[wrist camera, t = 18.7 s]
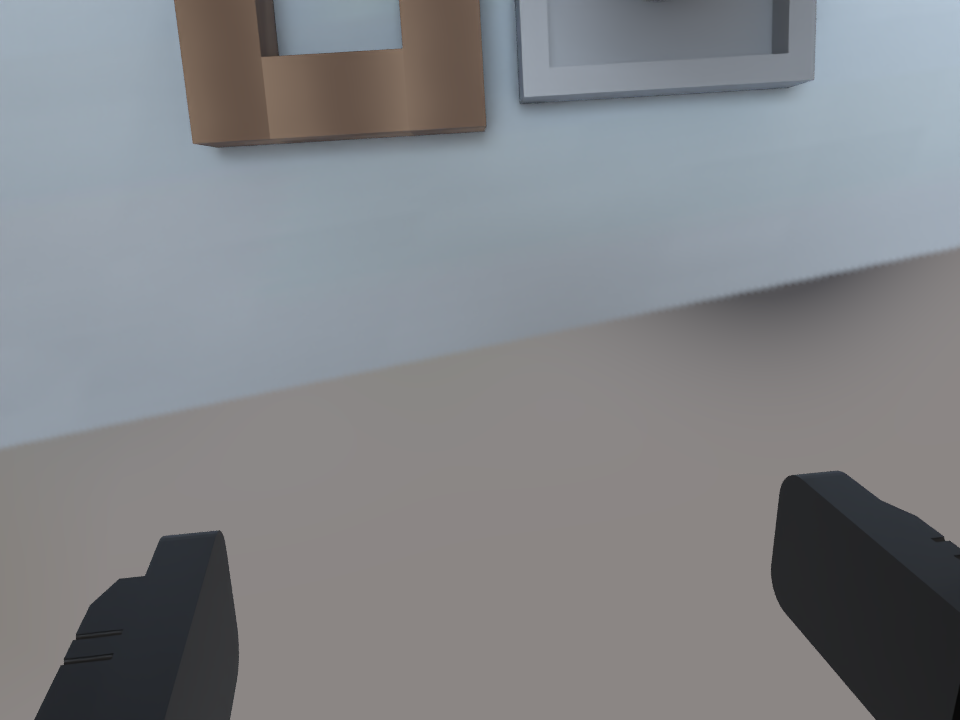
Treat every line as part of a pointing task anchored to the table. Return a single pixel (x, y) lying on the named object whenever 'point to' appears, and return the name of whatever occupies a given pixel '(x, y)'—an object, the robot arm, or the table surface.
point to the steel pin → (655, 0)
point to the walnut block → (329, 77)
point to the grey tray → (661, 47)
